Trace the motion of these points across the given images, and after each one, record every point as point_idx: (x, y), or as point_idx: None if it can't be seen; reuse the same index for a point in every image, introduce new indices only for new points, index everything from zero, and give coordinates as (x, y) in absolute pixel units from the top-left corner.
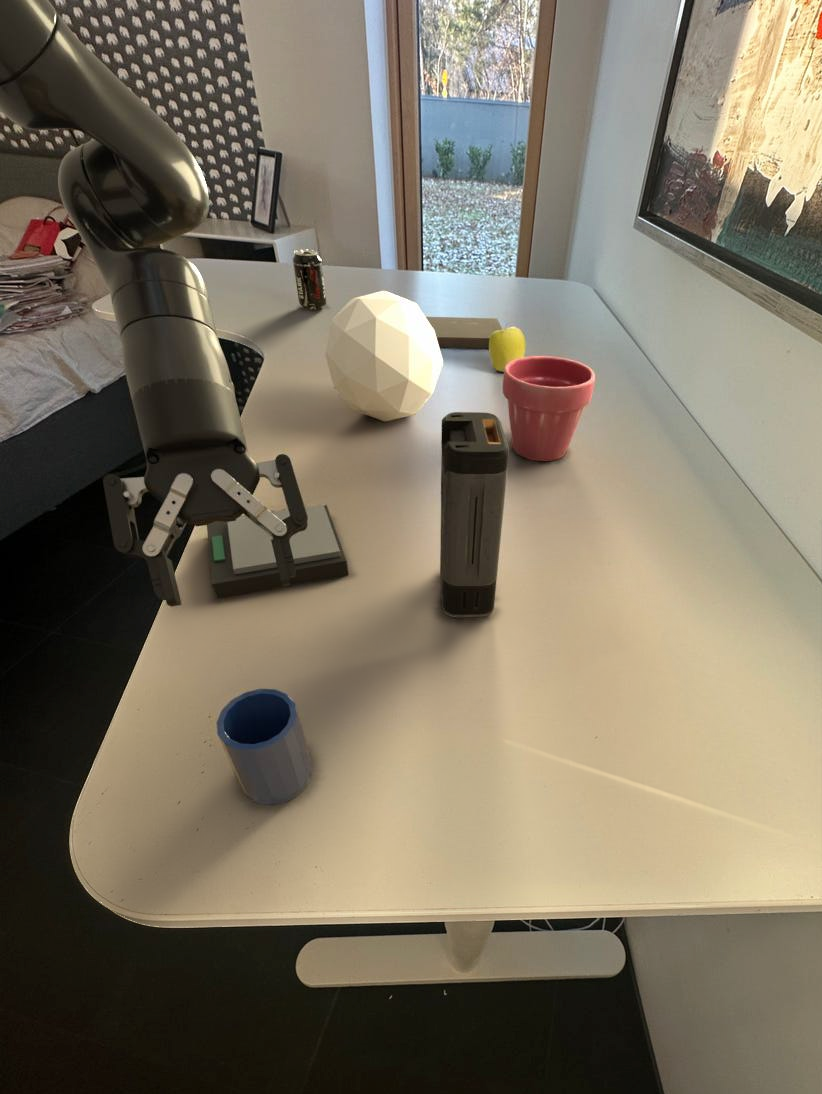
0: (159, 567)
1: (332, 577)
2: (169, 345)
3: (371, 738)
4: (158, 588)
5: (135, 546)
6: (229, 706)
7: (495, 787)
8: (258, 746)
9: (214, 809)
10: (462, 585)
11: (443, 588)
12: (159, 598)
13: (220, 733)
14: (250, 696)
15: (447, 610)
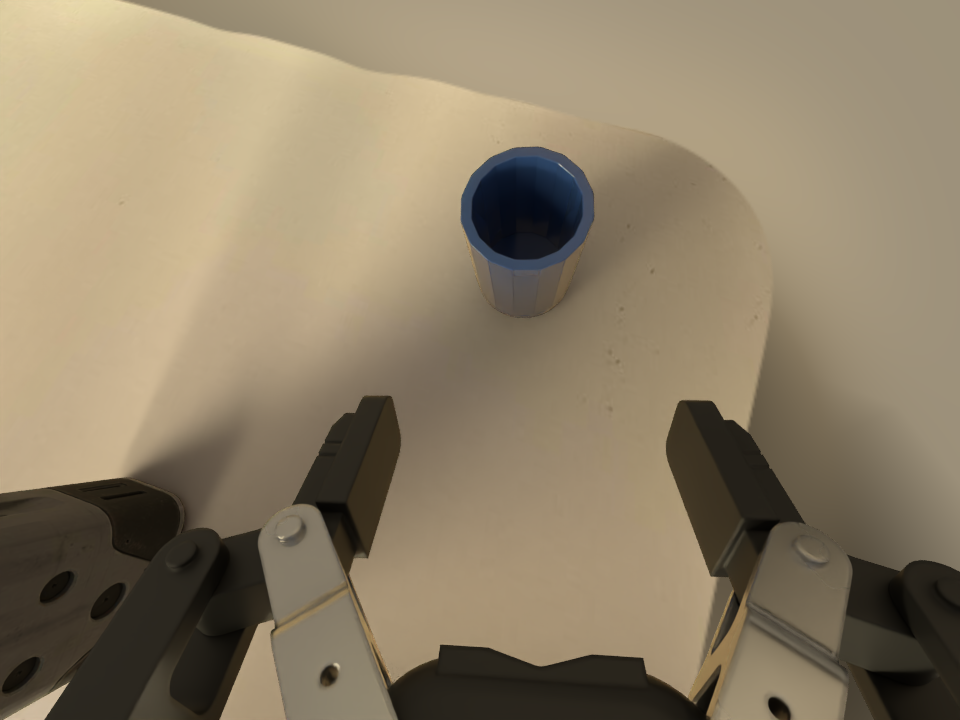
0: (753, 485)
1: None
2: None
3: (390, 291)
4: (740, 445)
5: (881, 597)
6: (570, 244)
7: (272, 174)
8: (530, 148)
9: (607, 247)
10: (88, 504)
11: (137, 536)
12: (731, 422)
13: (588, 192)
14: (533, 259)
15: (175, 508)
